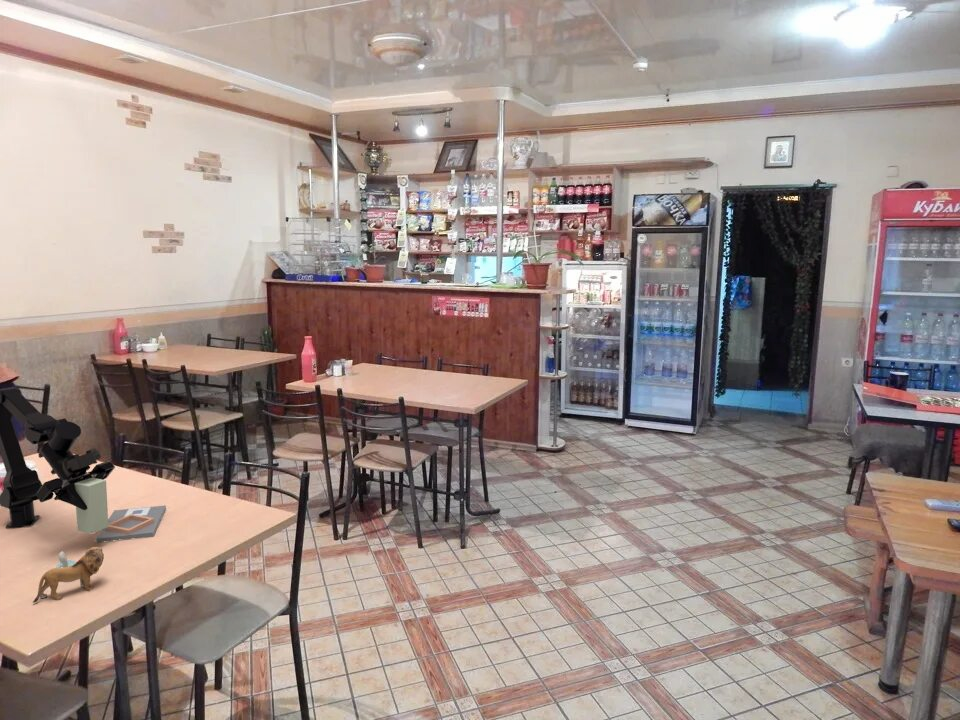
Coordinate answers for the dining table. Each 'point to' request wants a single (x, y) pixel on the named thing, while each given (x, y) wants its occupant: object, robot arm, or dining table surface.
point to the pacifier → (64, 561)
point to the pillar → (92, 505)
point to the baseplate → (133, 523)
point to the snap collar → (114, 524)
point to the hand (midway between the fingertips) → (95, 505)
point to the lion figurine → (72, 573)
